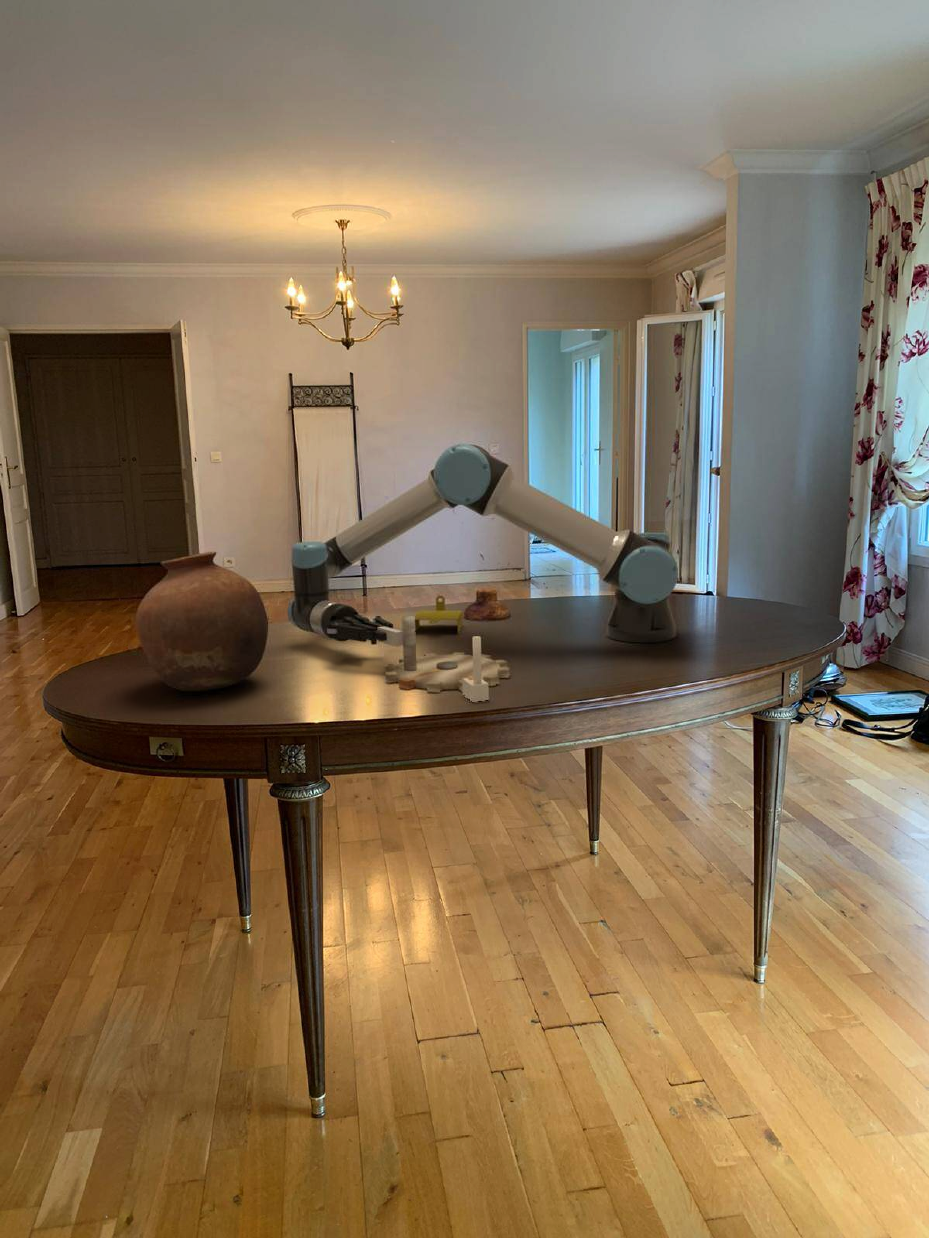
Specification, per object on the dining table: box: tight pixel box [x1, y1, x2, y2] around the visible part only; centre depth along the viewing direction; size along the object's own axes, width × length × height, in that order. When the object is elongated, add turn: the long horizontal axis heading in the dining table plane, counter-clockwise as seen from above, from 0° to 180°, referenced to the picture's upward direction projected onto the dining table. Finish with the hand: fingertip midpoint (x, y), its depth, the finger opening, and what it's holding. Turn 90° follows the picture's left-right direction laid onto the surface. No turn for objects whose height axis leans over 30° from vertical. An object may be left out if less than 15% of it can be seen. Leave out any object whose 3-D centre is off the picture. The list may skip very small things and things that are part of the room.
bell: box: [463, 588, 511, 621], centre depth 221 cm, size 12×12×7 cm
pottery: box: [135, 550, 269, 692], centre depth 160 cm, size 23×23×25 cm
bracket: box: [414, 595, 463, 634], centre depth 204 cm, size 16×8×15 cm
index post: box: [462, 635, 490, 703], centre depth 150 cm, size 5×3×11 cm, turn 19°
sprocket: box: [384, 615, 511, 693], centre depth 165 cm, size 23×23×12 cm
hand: (399, 638), depth 165 cm, fingers closed
